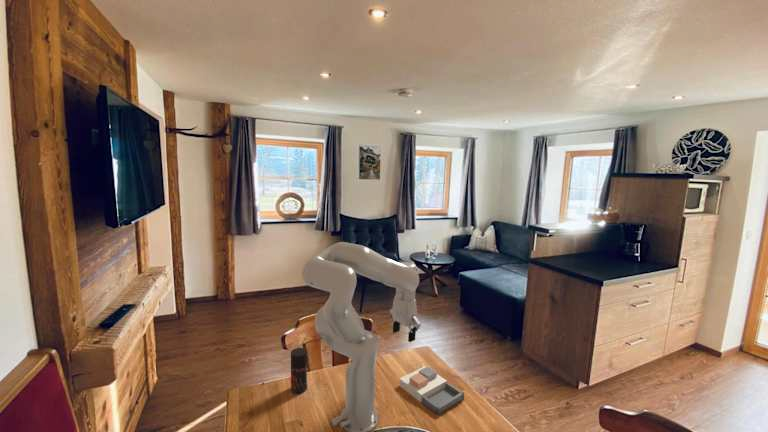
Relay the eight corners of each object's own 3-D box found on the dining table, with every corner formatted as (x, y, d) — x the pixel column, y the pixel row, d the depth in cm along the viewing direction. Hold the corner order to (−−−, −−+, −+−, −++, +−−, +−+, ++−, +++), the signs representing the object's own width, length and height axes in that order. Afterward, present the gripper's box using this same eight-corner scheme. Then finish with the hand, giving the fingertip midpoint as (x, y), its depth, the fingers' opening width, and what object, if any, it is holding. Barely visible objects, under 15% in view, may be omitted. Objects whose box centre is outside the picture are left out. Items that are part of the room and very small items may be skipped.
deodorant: (308, 392, 127) (308, 354, 125) (291, 395, 125) (291, 357, 123) (305, 382, 132) (305, 346, 130) (290, 385, 130) (289, 349, 128)
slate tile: (427, 381, 130) (428, 376, 130) (418, 375, 134) (418, 370, 134) (436, 377, 134) (436, 372, 133) (427, 370, 137) (427, 366, 137)
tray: (438, 415, 117) (438, 409, 116) (421, 402, 123) (421, 396, 123) (463, 399, 126) (464, 393, 125) (447, 388, 132) (447, 382, 131)
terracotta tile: (418, 388, 126) (418, 384, 126) (409, 382, 130) (409, 377, 130) (427, 383, 129) (428, 379, 129) (418, 377, 133) (418, 372, 133)
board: (421, 402, 123) (421, 394, 123) (399, 385, 132) (399, 378, 132) (446, 387, 132) (447, 380, 131) (424, 372, 141) (424, 366, 141)
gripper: (384, 289, 137) (382, 330, 139) (414, 303, 123) (411, 348, 126) (398, 286, 141) (396, 325, 144) (428, 299, 128) (426, 342, 130)
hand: (403, 336), depth 135 cm, fingers open, 8 cm apart
